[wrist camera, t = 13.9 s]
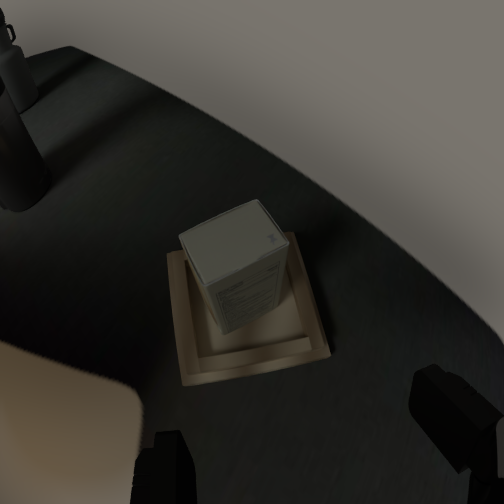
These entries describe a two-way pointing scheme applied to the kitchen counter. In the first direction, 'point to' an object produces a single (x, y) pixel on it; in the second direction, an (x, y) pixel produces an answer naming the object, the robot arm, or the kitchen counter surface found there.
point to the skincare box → (237, 264)
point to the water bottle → (15, 70)
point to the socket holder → (245, 327)
